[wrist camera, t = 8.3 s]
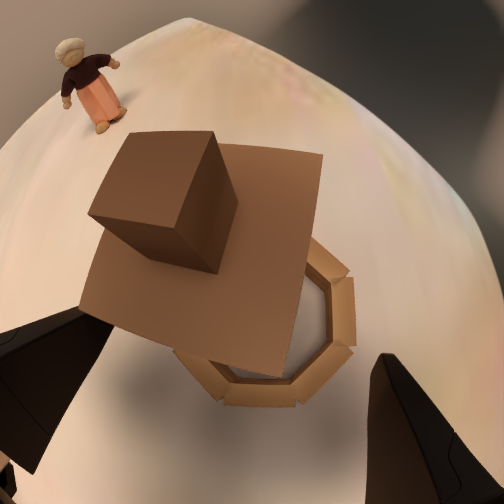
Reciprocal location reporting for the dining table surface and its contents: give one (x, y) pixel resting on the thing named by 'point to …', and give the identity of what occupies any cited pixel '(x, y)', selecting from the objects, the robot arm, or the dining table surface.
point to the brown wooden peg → (204, 245)
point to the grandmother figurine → (89, 83)
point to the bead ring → (315, 370)
